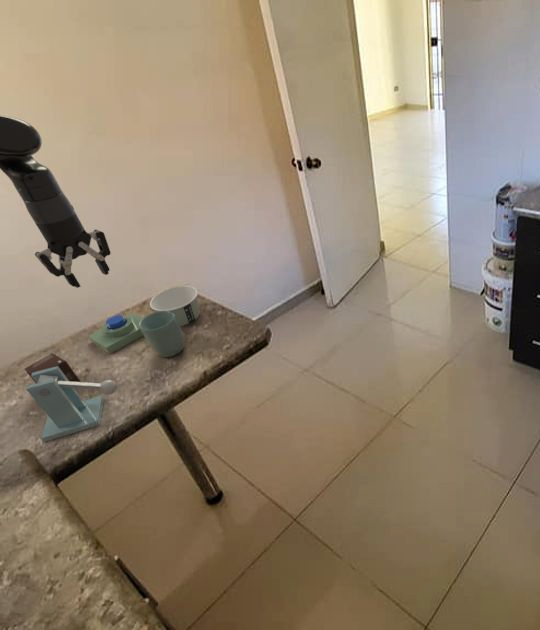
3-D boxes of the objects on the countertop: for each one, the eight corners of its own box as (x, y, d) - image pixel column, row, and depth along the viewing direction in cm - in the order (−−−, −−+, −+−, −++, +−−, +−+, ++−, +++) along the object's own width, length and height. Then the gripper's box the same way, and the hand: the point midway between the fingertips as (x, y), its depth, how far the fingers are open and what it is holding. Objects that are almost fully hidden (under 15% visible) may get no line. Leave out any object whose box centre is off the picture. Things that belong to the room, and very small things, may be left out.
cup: (195, 345, 111) (181, 314, 105) (170, 365, 106) (154, 333, 100) (174, 338, 114) (159, 307, 108) (148, 356, 108) (131, 325, 102)
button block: (109, 354, 110) (102, 342, 107) (92, 342, 114) (84, 330, 111) (154, 328, 118) (148, 317, 115) (136, 318, 122) (130, 307, 119)
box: (69, 374, 104) (52, 352, 100) (82, 383, 102) (66, 360, 97) (41, 391, 100) (23, 368, 96) (55, 400, 97) (36, 377, 93)
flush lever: (116, 388, 95) (119, 377, 94) (115, 398, 92) (118, 387, 91) (39, 384, 87) (41, 371, 86) (35, 394, 85) (37, 382, 84)
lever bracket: (104, 399, 97) (75, 357, 90) (99, 424, 92) (68, 382, 84) (52, 414, 94) (17, 372, 87) (44, 442, 88) (5, 399, 81)
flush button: (114, 331, 111) (110, 326, 110) (106, 326, 113) (102, 321, 112) (129, 323, 114) (126, 318, 113) (121, 318, 116) (118, 313, 115)
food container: (214, 308, 124) (207, 289, 120) (182, 333, 115) (173, 314, 111) (182, 301, 128) (174, 282, 124) (149, 324, 119) (139, 305, 115)
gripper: (80, 200, 101) (113, 263, 112) (8, 224, 92) (52, 290, 102) (96, 206, 98) (129, 270, 108) (24, 231, 89) (67, 299, 99)
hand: (91, 279), depth 105 cm, fingers open, 6 cm apart
